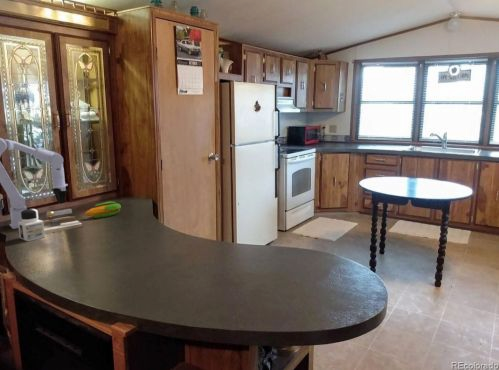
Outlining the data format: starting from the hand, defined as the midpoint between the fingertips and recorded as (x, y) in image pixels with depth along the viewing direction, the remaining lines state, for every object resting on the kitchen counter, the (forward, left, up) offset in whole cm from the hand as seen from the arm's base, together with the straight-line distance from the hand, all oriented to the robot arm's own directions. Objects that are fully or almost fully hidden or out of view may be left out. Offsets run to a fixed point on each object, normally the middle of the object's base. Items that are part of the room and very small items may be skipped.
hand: (60, 202), depth 201 cm
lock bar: (+6, -3, -5) cm, 8 cm away
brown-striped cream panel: (+11, -5, -9) cm, 15 cm away
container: (+22, -19, -10) cm, 31 cm away
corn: (+8, +19, -10) cm, 23 cm away
